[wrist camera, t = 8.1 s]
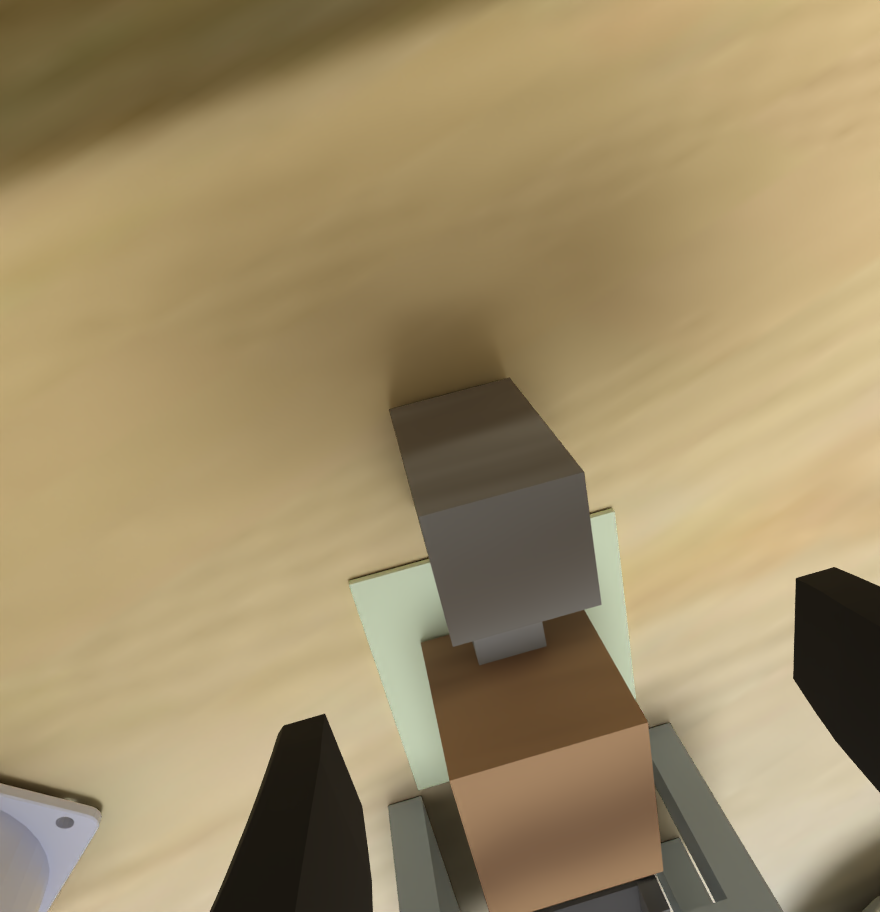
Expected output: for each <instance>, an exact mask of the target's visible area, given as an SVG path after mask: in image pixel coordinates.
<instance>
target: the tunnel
mask: <svg viewBox="0 0 880 912" xmlns="http://www.w3.org/2000/svg"><path fill="white" fill-rule="evenodd" d="M649 737H650V746H651V756H652V766H653V775H654V785H655V787H656V789H657V790H658V792H659V794H660V796H661V798H662V800H663V802H664V804H665V806H666V808H667V810H668V812H669V813H670V815H671V817H672V819H673V821H674V823H675V825H676V827H677V829H678V831H679V833H680V835H681V836H682V838H683V840H684V842H685V844H686V846H687V848H688V850H689V852H690V854H691V856H692V858H693V860H694V861H695V863H696V865H697V867H698V869H699V871H700V873H701V875H702V877H703V879H704V881H705V883H706V884H707V886H708V888H709V890H710V892H711V894H712V896H713V898H714V900H715V902H716V903H713V902H712V900H711V898H710V896H709V894H708V892H707V890H706V888H705V886H704V884H703V882H702V880H701V879H700V877H699V875H698V873H697V871H696V869H695V867H694V865H693V863H692V861H691V859H690V857H689V855H688V853H687V851H686V850H685V848H684V846H683V844H682V842H681V840H680V838H677V839H674V840H671V841H667V842H664V843H661V852H662V861H663V872H659V873H656V874H657V876H658V879H659V881H660V883H661V885H662V887H663V889H664V892H665V894H666V896H667V898H668V900H669V902H670V905H671V907H672V909H673V911H674V912H783V910H782V909H781V907H780V905H779V904H778V902H777V900H776V899H775V897H774V895H773V894H772V892H771V890H770V889H769V887H768V885H767V884H766V882H765V880H764V879H763V877H762V875H761V874H760V872H759V870H758V869H757V867H756V865H755V864H754V862H753V860H752V859H751V857H750V855H749V854H748V852H747V850H746V849H745V847H744V845H743V844H742V842H741V840H740V839H739V837H738V835H737V834H736V832H735V830H734V829H733V827H732V825H731V824H730V822H729V821H728V819H727V817H726V816H725V814H724V812H723V811H722V809H721V807H720V806H719V804H718V802H717V801H716V799H715V797H714V796H713V794H712V792H711V791H710V789H709V787H708V786H707V784H706V782H705V781H704V779H703V777H702V776H701V774H700V772H699V771H698V769H697V767H696V766H695V764H694V762H693V761H692V759H691V757H690V756H689V754H688V752H687V751H686V749H685V747H684V746H683V744H682V742H681V741H680V739H679V737H678V736H677V734H676V732H675V731H674V729H673V727H672V726H671V724H670V723H667V724H664V725H660V726H657V727H654V728H650V729H649ZM388 810H389V819H390V828H391V837H392V846H393V855H394V864H395V873H396V882H397V891H398V901H399V910H400V912H460V910H459V907H458V904H457V901H456V898H455V895H454V892H453V889H452V886H451V883H450V880H449V877H448V874H447V871H446V868H445V865H444V862H443V859H442V856H441V853H440V850H439V847H438V844H437V841H436V838H435V835H434V833H433V830H432V827H431V824H430V821H429V818H428V815H427V812H426V809H425V806H424V803H423V800H422V797H421V796H420V797H416V798H413V799H410V800H406V801H403V802H399V803H396V804H393V805H389V806H388Z"/></svg>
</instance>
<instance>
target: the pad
mask: <svg viewBox="0 0 880 912" xmlns="http://www.w3.org/2000/svg"><path fill="white" fill-rule="evenodd" d="M590 520H591V528H592V535H593V543H594V550H595V558H596V565H597V573H598V581H599V588H600V596H601V603H602V605H599V606H596V607H592V608H588V609H585V612H586V614H587V615H588V617H589V619H590V621H591V622H592V624H593V626H594V628H595V630H596V631H597V633H598V635H599V637H600V638H601V640H602V642H603V644H604V645H605V647H606V649H607V651H608V653H609V654H610V656H611V658H612V660H613V661H614V663H615V665H616V667H617V668H618V670H619V672H620V674H621V676H622V677H623V679H624V681H625V683H626V684H627V686H628V688H629V690H630V691H631V693H632V695H633V697H634V699H635V700H636V695H635V686H634V677H633V668H632V659H631V651H630V642H629V633H628V624H627V615H626V606H625V598H624V589H623V580H622V571H621V562H620V553H619V545H618V536H617V527H616V518H615V511H614V510H613V509H612V508H611V509H607V510H604V511H600V512H597V513H593V514H590ZM349 587H350V590H351V593H352V595H353V598H354V601H355V604H356V607H357V610H358V613H359V616H360V619H361V622H362V625H363V628H364V631H365V634H366V637H367V640H368V643H369V646H370V649H371V652H372V655H373V658H374V661H375V663H376V666H377V669H378V672H379V675H380V678H381V681H382V684H383V687H384V690H385V693H386V696H387V699H388V702H389V705H390V708H391V711H392V714H393V717H394V720H395V723H396V726H397V729H398V731H399V734H400V737H401V740H402V743H403V746H404V749H405V752H406V755H407V758H408V761H409V764H410V767H411V770H412V773H413V776H414V779H415V782H416V785H417V788H418V791H419V790H422V789H426V788H429V787H433V786H436V785H439V784H443V783H446V782H450V781H449V776H448V772H447V767H446V762H445V757H444V753H443V748H442V743H441V738H440V733H439V729H438V724H437V719H436V714H435V709H434V705H433V700H432V695H431V690H430V686H429V681H428V676H427V671H426V666H425V662H424V657H423V652H422V647H421V642H424V641H428V640H432V639H435V638H439V637H442V636H446V635H449V631H448V627H447V623H446V620H445V616H444V612H443V609H442V605H441V601H440V597H439V594H438V590H437V586H436V583H435V579H434V575H433V572H432V568H431V564H430V560H429V559H426V560H422V561H419V562H415V563H412V564H408V565H404V566H401V567H397V568H393V569H390V570H386V571H383V572H379V573H375V574H372V575H368V576H364V577H361V578H357V579H354V580H350V581H349Z"/></svg>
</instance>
